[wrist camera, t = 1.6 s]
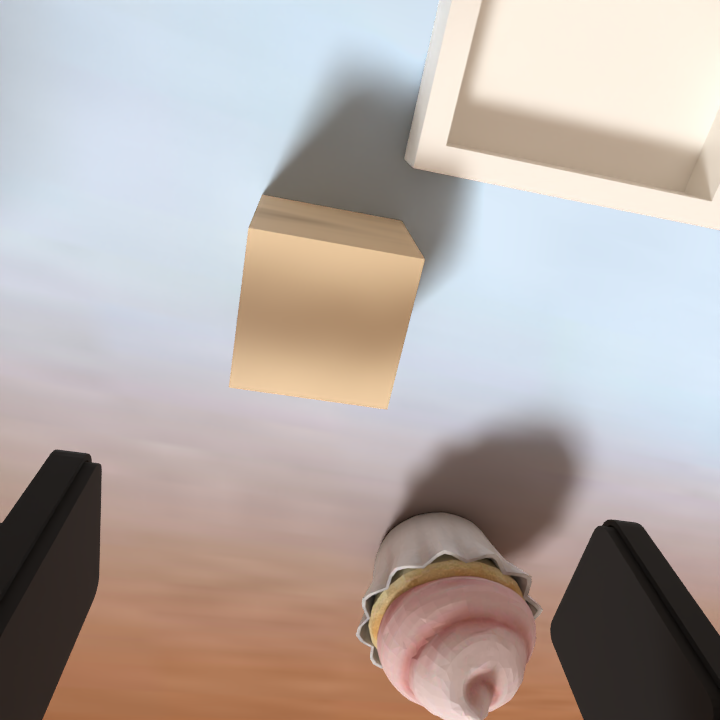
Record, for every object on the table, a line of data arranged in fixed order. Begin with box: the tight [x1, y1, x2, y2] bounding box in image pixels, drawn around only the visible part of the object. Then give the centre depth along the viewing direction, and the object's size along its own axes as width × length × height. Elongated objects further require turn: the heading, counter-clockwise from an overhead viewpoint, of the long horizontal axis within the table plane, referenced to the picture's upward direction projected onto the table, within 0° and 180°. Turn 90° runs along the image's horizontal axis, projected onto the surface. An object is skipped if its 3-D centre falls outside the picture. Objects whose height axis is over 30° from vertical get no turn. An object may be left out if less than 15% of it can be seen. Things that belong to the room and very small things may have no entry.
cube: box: [229, 195, 425, 409], centre depth 24 cm, size 6×6×6 cm
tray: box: [404, 0, 720, 230], centre depth 22 cm, size 13×13×3 cm
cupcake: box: [356, 512, 543, 720], centre depth 30 cm, size 9×9×10 cm
